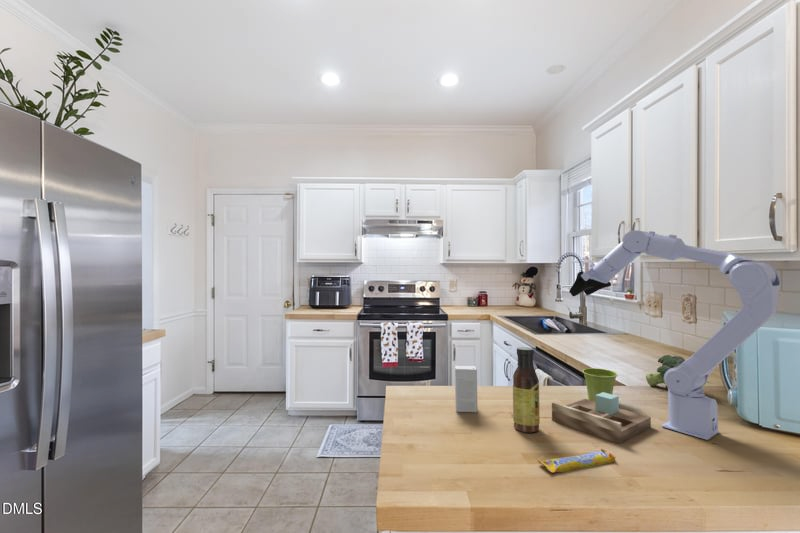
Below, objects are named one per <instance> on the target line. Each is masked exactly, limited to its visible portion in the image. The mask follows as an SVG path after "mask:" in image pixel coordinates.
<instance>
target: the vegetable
mask: <svg viewBox="0 0 800 533" xmlns="http://www.w3.org/2000/svg"><path fill="white" fill-rule="evenodd" d="M685 360H686V359H685V358H683V356H680V355H673V356H671V355H670V354H664V355H663V356H661V357H659V358H658V359H657V363H660V364H661V365H662V366H659V367H657V368H656V372H651V373H647V374H645V379H646V381H647V385H649V386H650V387H656V386H658V385H659V384H664V385H665V388H666V389H667V390H668V387H667V386H666V384H665V382H664V374H665V373H666V371H667V370H669V369H671V368H675V367H678V366H679V365H680V364H681V363H683V362H684V361H685Z"/></svg>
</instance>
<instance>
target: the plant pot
mask: <svg viewBox="0 0 800 533" xmlns="http://www.w3.org/2000/svg"><path fill="white" fill-rule="evenodd" d="M582 373H583V376H584V379H585V384H586V390H587V396H588V397H587V398H588V400H591V401H595V395H597V394H600V393H602V392H604V393H608V394H612V395H613V392H614V385H615V382H616V379H617V377H618V372H616V371H614V370H610V369H606V368H597V367H594V368H593V367H591V368H590V367H589V368H583V369H582Z"/></svg>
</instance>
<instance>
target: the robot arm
mask: <svg viewBox="0 0 800 533" xmlns="http://www.w3.org/2000/svg"><path fill="white" fill-rule="evenodd" d="M641 254H645V255H647V256H653V257H657V258H661V259H665V260H669V261H676V260H678V259H679V258H684V259H687V260H691V261H696V262H699V263H703V264H707V265H712V266H715V267H717V269H718V270H719V272H721V273H722V275H728V280H729V282H730V284H731V285H732V287H733V288H734V290H736V292H737V293H738V295H739V297H740V301H741V306H742V308H741V309H740V310H739V311H738V312H736V314H734V315H733V316H732V317H731V318H730V319H729V320H728V321H727V322H726V323H725V324H724V325H723V326H721V328H720V329H719V330H718V331H716V333H714V335H712V337H710V338H709V339H708V340H706V341H705V343H704V344H703V345H702V346H700V348H698V349H697V350H696V351H695V352H694V353H693V354H692V355H691V356H690V357H688V358H687V359H684V360H685V361H684V362H683V363H681V364H680V365H679V366H678V367H675V368H671V369H669V370H667V371H666V373H665V374H664V382H665V384H664V385H665V387H666V386H667V387H668V389H667V403H668V404H667V406H668V407H667V410H668V415H667V416H668V421H666V422H665V423H662V424H661V427H663V428H666V429H668V430H672V431H676V432H679V433H682V434H685V435H689V436H692V437H696V438H700V439H703V440H705V441H709V440H710V439H711V438H713V437H714V436H716V435H717V434H719V433H720V430H719V409H718V408H719V407H718V401H717V400H716V399H715V398H711V397H708V396H706V395H705V392H704V389H703V387H704V386H705V385H707V383H708V379H709V376H710V375H711V374H712V373H713V371H715V368H716V367H717V366H718V365H720V364H721V363H722V362H723V361H724V360H725V359H727V358H728V357H729V355H732V353H733V352H734V351H735V350H737V348H739V347H740V346H741V345H742V344H743V343H744V342H746V341H747V340H748V339H749V338H750V337H751V336H752V335H753V334H754V333H756V332H757V331H758V330H760V328H761V327H762V326H764V325H765V324H766V323H767V322H768V321H769V320H770V319H771V318H772V317H773V316H775V315H776V313H777V310H778V309H777V308H778V303H779V302H778V301H779V292H780V288H781V285H782V281H781V278H780V276H779V273H778V271H777V269H776V268H775V267H773V266H772V265H771V264H769V263H767V262H761V261H756V260H755V259H752V258H749V257H747V256H742V255H739V254H736V253H732V252H728V251H722V250H721V251H720V250H717V249H716V250H714V249H709V248H704V247H703V248H702V247H698V246H692V245H688V244H687V245H686V243H685V242H684V241H683V239H682V238H679V237H678V235H676V234H668V235H663V234H659V233H656V232H655V231H654V230H653V231H651V230H650V231H648V232H647V231H643V230H629V231H628V232H626V233H625V234H624V235H623V237H622V241H621V242H620V243H618V245H616V246H615V247H614V248H613V249H612V250H611V251H609V252H608V253H607V254H606V255H605V256H604V257H603V258H601V259H600V260H598V262H596V264H594V263H590V264H589V265H588V266H589V267H590V268H589V269H588V270H587V271H579V272H578V273H577V274H576V277H575V278H576V279H574V280H575V281H574V283H573V284H572V286H571V287H570V288H569V290H568V291H569V294H570V295H571V296H572V297H576V296H578V295H579V294H581V293H584V294H585V295H586V296H589V295H590V296H591V294H594V293H596V292H598V291H600V290H602V289H604V288H605V289H606V288H608V287H611V286H612V283H611V281H612V280H613V279H614V278H615V277H616V276H617V275H618V274H619V273H620V272H622V270H624V269H625V268H626V267H627V266H628V265H630V264H631V263H632V262H634V260H635V259H636V258H637V257H639V256H640V255H641ZM755 261H756V262H755Z"/></svg>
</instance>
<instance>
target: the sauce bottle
mask: <svg viewBox="0 0 800 533" xmlns="http://www.w3.org/2000/svg"><path fill="white" fill-rule="evenodd" d="M534 354H535V351H534V348H532V347H525V346H521V347H517V348H516V355H517V367H516V369H515V370H514V371H513V372H514V373H513V375H512V379H513V380H512V382H513V384H512V411H513V412H512V413H513V414H512V415H513V416H512V418H513V420H512V421H513V427H514V428H515V430H518V431H519V432H522V433H535V432H538V431H539V429H540V423H541V422H540V420H541V419H540V418H541V417H540V380H539V377H538V375H537V372H536V369H535V367H534Z"/></svg>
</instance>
